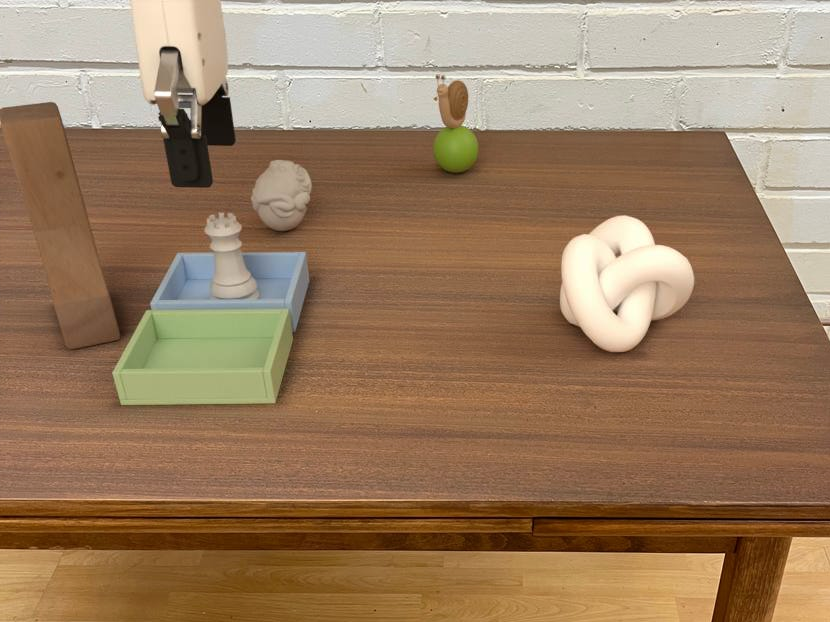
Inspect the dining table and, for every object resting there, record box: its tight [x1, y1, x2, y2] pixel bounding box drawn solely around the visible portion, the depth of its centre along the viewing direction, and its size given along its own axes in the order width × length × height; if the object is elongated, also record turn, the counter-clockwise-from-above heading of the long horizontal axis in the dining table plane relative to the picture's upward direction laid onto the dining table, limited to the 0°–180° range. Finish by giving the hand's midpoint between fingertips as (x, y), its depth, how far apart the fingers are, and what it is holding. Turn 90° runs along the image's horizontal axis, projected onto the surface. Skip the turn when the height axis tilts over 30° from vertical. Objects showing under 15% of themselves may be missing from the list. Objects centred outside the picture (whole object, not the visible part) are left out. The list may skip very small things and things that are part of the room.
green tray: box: [111, 309, 294, 406], centre depth 78 cm, size 12×10×3 cm
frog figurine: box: [250, 159, 313, 232], centre depth 100 cm, size 6×7×7 cm
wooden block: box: [0, 101, 121, 350], centre depth 80 cm, size 9×4×18 cm, turn 24°
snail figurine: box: [432, 73, 480, 174], centre depth 111 cm, size 5×6×12 cm
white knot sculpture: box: [559, 214, 695, 353], centre depth 82 cm, size 11×12×9 cm
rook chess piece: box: [203, 212, 259, 300], centre depth 86 cm, size 4×4×8 cm
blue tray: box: [149, 251, 310, 333], centre depth 87 cm, size 12×10×3 cm
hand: (205, 164), depth 80 cm, fingers open, 9 cm apart
